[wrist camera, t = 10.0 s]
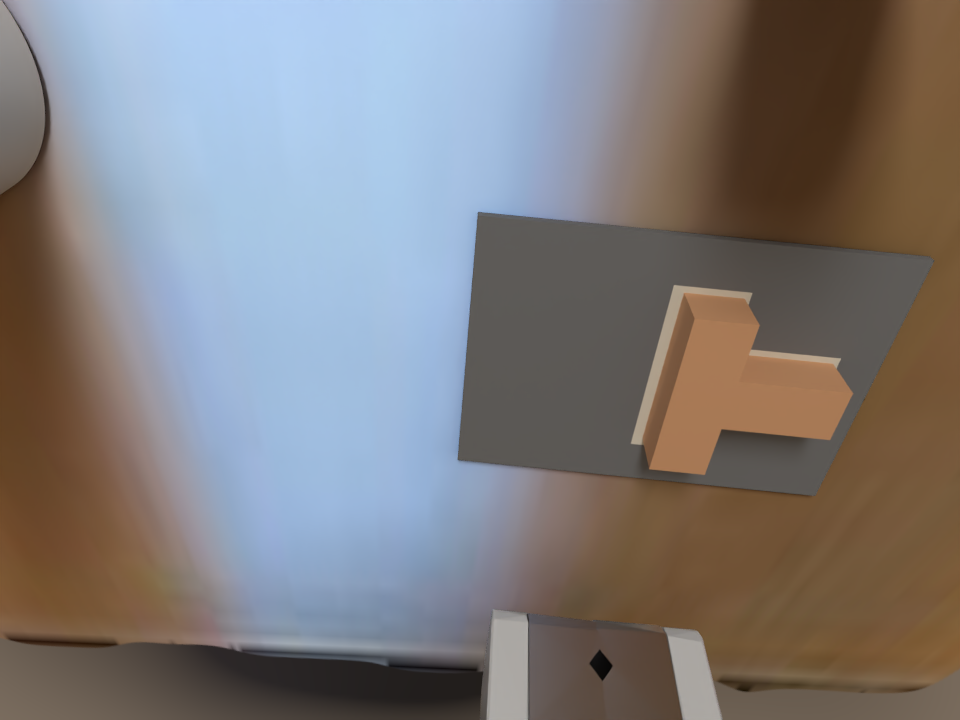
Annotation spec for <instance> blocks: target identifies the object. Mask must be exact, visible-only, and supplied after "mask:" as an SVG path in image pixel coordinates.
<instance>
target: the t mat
mask: <svg viewBox="0 0 960 720" xmlns="http://www.w3.org/2000/svg"><path fill="white" fill-rule="evenodd" d="M933 262H934V260H933V259H932V258H931V257H928V256H917V255H907V254H897V253H887V252H877V251H867V250H857V249H847V248H836V247H826V246H816V245H806V244H796V243H786V242H776V241H766V240H756V239H745V238H735V237H725V236H715V235H705V234H695V233H685V232H675V231H664V230H654V229H644V228H634V227H624V226H614V225H604V224H594V223H584V222H573V221H563V220H553V219H543V218H533V217H523V216H513V215H503V214H493V213H482V212H478V219H477V231H476V243H475V255H474V268H473V280H472V292H471V304H470V317H469V329H468V341H467V353H466V366H465V378H464V390H463V402H462V414H461V427H460V439H459V451H458V460H466V461H475V462H485V463H495V464H505V465H515V466H525V467H535V468H545V469H555V470H564V471H574V472H584V473H594V474H604V475H614V476H624V477H634V478H644V479H653V480H663V481H673V482H683V483H693V484H703V485H713V486H723V487H733V488H742V489H752V490H762V491H772V492H782V493H792V494H802V495H812V496H815V495H816V493H817V491H818V489H819V487H820V485H821V483H822V481H823V479H824V477H825V475H826V473H827V471H828V470H829V468H830V466H831V464H832V462H833V460H834V458H835V456H836V454H837V452H838V450H839V448H840V446H841V444H842V442H843V440H844V438H845V436H846V434H847V432H848V430H849V428H850V426H851V424H852V422H853V420H854V418H855V416H856V414H857V412H858V410H859V408H860V406H861V404H862V402H863V400H864V399H865V397H866V395H867V393H868V391H869V389H870V387H871V385H872V383H873V381H874V379H875V377H876V375H877V373H878V371H879V369H880V367H881V365H882V363H883V361H884V359H885V357H886V355H887V353H888V351H889V349H890V347H891V345H892V343H893V341H894V339H895V337H896V335H897V333H898V331H899V329H900V327H901V326H902V324H903V322H904V320H905V318H906V316H907V314H908V312H909V310H910V308H911V306H912V304H913V302H914V300H915V298H916V296H917V294H918V292H919V290H920V288H921V286H922V284H923V282H924V280H925V278H926V276H927V274H928V272H929V270H930V268H931V266H932V264H933ZM684 293H693V294H703V295H713V296H723V297H733V298H743V299H745V300H746V302H747V304H748V305H749V307H750V309H751V311H752V312H753V314H754V316H755V318H756V319H757V321H758V323H759V325H760V326H759V329H758V332H757V334H756V337H755V340H754V343H753V345H752V348H751V351H750V353H749V355H751V356H761V357H771V358H781V359H791V360H800V361H810V362H820V363H830V364H834V366H835V367H836V369H837V370H838V372H839V373H840V375H841V376H842V378H843V379H844V381H845V382H846V384H847V385H848V386H849V388H850V389H851V391H852V392H853V395H852V397H851V399H850V401H849V403H848V405H847V407H846V409H845V411H844V413H843V415H842V417H841V419H840V421H839V423H838V425H837V427H836V429H835V431H834V433H833V435H832V437H831V439H830V440H824V439H814V438H804V437H794V436H785V435H775V434H765V433H755V432H745V431H735V430H725V429H721V432H720V435H719V437H718V440H717V443H716V446H715V448H714V451H713V454H712V456H711V459H710V462H709V465H708V467H707V470H706V473H705V475H701V474H691V473H681V472H672V471H662V470H652V469H649V466H648V461H647V457H646V452H645V447H644V443H643V435H644V431H645V428H646V424H647V421H648V417H649V414H650V410H651V407H652V403H653V400H654V396H655V393H656V389H657V386H658V382H659V378H660V375H661V371H662V368H663V364H664V361H665V357H666V354H667V350H668V347H669V343H670V340H671V336H672V333H673V329H674V326H675V322H676V319H677V315H678V312H679V308H680V305H681V301H682V298H683V294H684Z"/></svg>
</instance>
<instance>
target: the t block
mask: <svg viewBox="0 0 960 720" xmlns="http://www.w3.org/2000/svg"><path fill="white" fill-rule="evenodd" d="M759 326H760V325H759V323H758V321H757V319H756V318H755V316H754V314H753V312H752V311H751V309H750V307H749V305H748V304H747V302H746V300H745V299H743V298H733V297H723V296H713V295H703V294H693V293H684V294H683V298H682V301H681V305H680V308H679V312H678V315H677V319H676V322H675V326H674V329H673V333H672V336H671V340H670V343H669V347H668V350H667V354H666V357H665V361H664V364H663V368H662V371H661V375H660V378H659V382H658V386H657V389H656V393H655V396H654V400H653V403H652V407H651V410H650V414H649V417H648V421H647V424H646V428H645V431H644V435H643V443H644V447H645V452H646V457H647V461H648V466H649V469H652V470H662V471H672V472H681V473H691V474H701V475H705V473H706V470H707V467H708V465H709V462H710V459H711V456H712V454H713V451H714V448H715V446H716V443H717V440H718V437H719V435H720V432H721V429H725V430H735V431H745V432H755V433H765V434H775V435H785V436H794V437H804V438H814V439H824V440H830V439H831V437H832V435H833V433H834V431H835V429H836V427H837V425H838V423H839V421H840V419H841V417H842V415H843V413H844V411H845V409H846V407H847V405H848V403H849V401H850V399H851V397H852V395H853V392H852V391H851V389H850V388H849V386H848V385H847V384H846V382H845V381H844V379H843V378H842V376H841V375H840V373H839V372H838V370H837V369H836V367H835V366H834V364H830V363H820V362H810V361H800V360H791V359H781V358H771V357H761V356H751V355H749V353H750V351H751V348H752V345H753V343H754V340H755V337H756V334H757V332H758V329H759Z"/></svg>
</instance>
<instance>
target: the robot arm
mask: <svg viewBox="0 0 960 720" xmlns="http://www.w3.org/2000/svg"><path fill="white" fill-rule="evenodd" d="M44 129H45V106H44V97H43V91H42V86H41V82H40V78H39V74H38V71H37V68H36V65H35V62H34V59H33V57H32V54H31V52H30V49H29V47H28V45H27V43H26V41H25V39H24V37H23V35H22V33H21V31H20V29H19V27H18V25H17V24H16V22H15V20H14V19H13V17H12V15H11V14H10V12H9V11H8V9H7V8H6V6H5V5H4V3H3V2H2V0H0V195H1V194H2V193H4V192H5V191H7V190H8V189H9V188H11V187H12V186H14V185H15V184H17V183H18V182H19V181H20V180H21V179H22V178H23V177H24V176H25V175H26V174H27V173H28V171H29V170H30V169H31V167H32V166H33V164H34V162H35V160H36V158H37V156H38V154H39V151H40V148H41V145H42V141H43V136H44ZM480 720H723V719H722V715H721V711H720V707H719V703H718V699H717V695H716V691H715V687H714V683H713V679H712V675H711V671H710V666H709V662H708V658H707V654H706V650H705V646H704V642H703V638H702V637H701V635H700V634H699V632H698V631H696V630H692V629H680V628H668V627H660V626H659V625H647V624H635V623H623V622H612V621H600V620H593V621H590V620H581V619H572V618H564V617H555V616H547V615H538V614H530V613H528V614H527V613H524V612H514V611H504V610H494V609H493V610H492V612H491V619H490V626H489V632H488V639H487V646H486V653H485V662H484V671H483V680H482V693H481V708H480Z"/></svg>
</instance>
